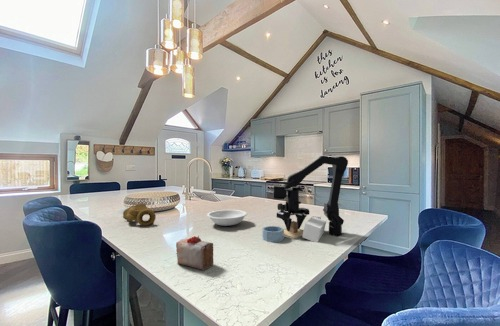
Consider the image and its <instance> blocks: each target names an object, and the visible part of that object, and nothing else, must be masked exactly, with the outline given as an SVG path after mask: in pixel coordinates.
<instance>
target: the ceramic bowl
mask: <svg viewBox="0 0 500 326" xmlns="http://www.w3.org/2000/svg"><path fill="white" fill-rule="evenodd" d="M284 229H285V228H283V227H281V226H277V225H269V226H268V225H267V226H264V227H262V236H261V237H262V240H263V241H265V242H269V243H280V242H282V241H284V238H285V237H284Z"/></svg>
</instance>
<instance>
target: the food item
mask: <svg viewBox="0 0 500 326" xmlns="http://www.w3.org/2000/svg"><path fill="white" fill-rule="evenodd" d="M175 246H176V247H175V248H176V254H175V255H176V258H177V260H176V261H177V264H178V265H183V266H187V267H190V268H191V267H192V268H195V269H199V270H202V271H206V270H208V269H209V268H210V267H211V266H213V265H214V243H213V242H209V241H204V240H201V238H200V235H198V236H191V237H190V238H182V239H180V240H178V241H176V245H175Z"/></svg>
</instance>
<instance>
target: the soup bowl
mask: <svg viewBox="0 0 500 326" xmlns="http://www.w3.org/2000/svg"><path fill="white" fill-rule="evenodd" d="M247 215H248V212H247V211H245V210H240V209H220V210H219V209H218V210H214V211H210V212H208V213H206V216H207V218H209V219H210V220H211V221H212V223H213V224H215V225H219V226H223V227H227V226H235V225H238V224H240V223H241V222H242V221H243V220H244V218H245V217H247Z"/></svg>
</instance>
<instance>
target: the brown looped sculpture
mask: <svg viewBox="0 0 500 326" xmlns="http://www.w3.org/2000/svg"><path fill="white" fill-rule="evenodd" d="M122 215H123V216H122V217H123V219H124V220H126V221H127V222H128V223H129V222H133V221H135V222H137V223H138V224H139V225H141V226H143V227H148V226H151V225H152V224H154V222H155V220H156V213H155V212H154V210H153V209H150V208H148V207H147V204H146V203H144V202H142V203H138V204H135V205H131V206H129V207H128V208H126V209H124V210H123V212H122ZM144 215H148V216H149V219H147V220H144V219H143V216H144Z"/></svg>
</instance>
